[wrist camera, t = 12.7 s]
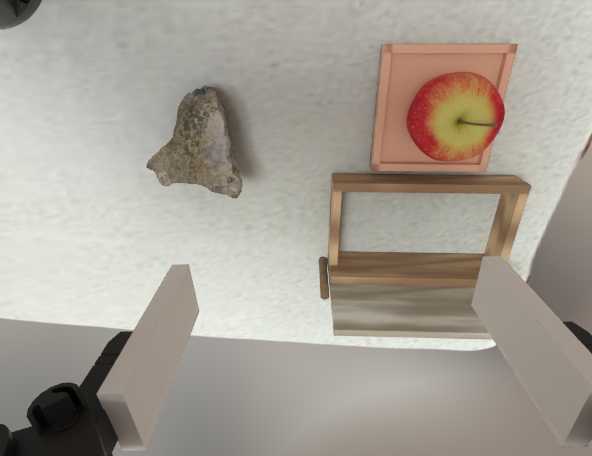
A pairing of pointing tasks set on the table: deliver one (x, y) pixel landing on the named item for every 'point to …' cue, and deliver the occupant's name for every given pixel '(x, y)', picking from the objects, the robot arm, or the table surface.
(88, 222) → the table surface
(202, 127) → the rock
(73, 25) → the table surface
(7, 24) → the robot arm
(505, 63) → the dish
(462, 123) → the apple
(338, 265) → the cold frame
